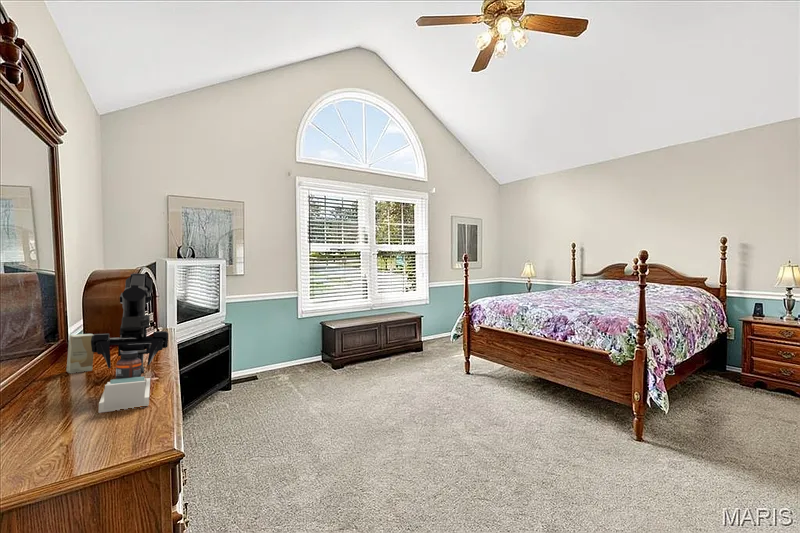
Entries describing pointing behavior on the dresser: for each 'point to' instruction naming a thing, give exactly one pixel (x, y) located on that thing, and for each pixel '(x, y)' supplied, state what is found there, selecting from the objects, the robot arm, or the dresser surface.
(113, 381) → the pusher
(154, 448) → the dresser surface
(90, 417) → the dresser surface
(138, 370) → the supplement bottle
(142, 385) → the lane
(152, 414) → the dresser surface
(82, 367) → the skincare box
